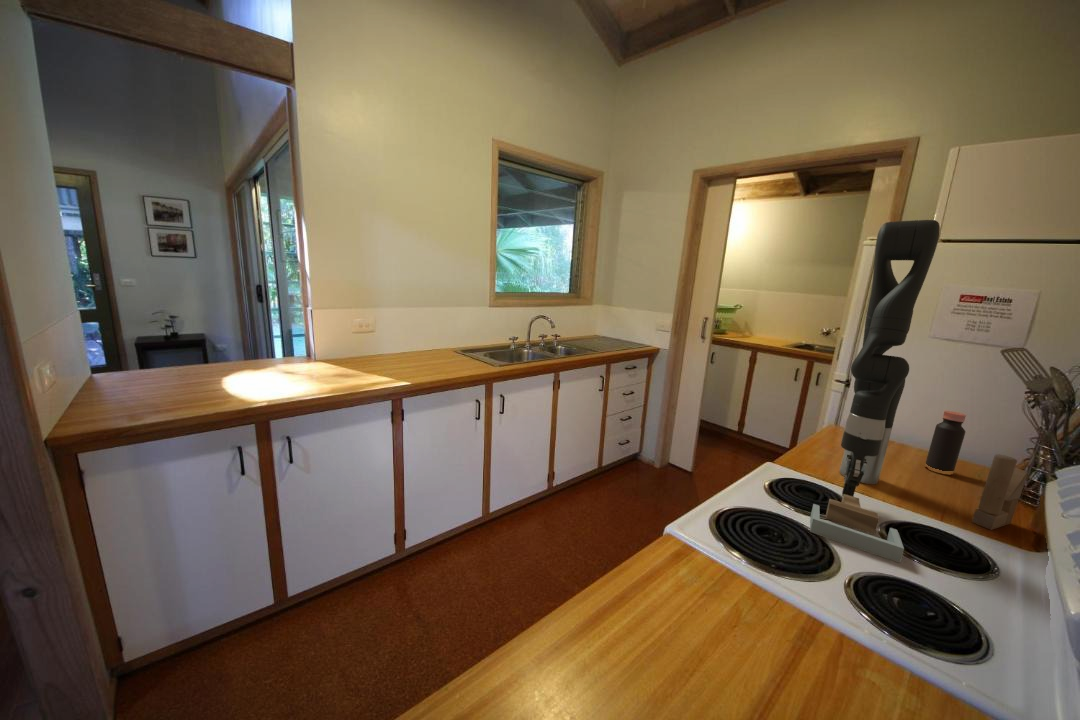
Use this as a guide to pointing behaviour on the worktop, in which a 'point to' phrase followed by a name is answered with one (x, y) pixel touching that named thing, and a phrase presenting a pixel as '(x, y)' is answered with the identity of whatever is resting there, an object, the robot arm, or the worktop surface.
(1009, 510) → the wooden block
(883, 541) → the bracket
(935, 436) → the bottle
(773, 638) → the worktop surface
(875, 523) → the t block
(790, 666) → the worktop surface
